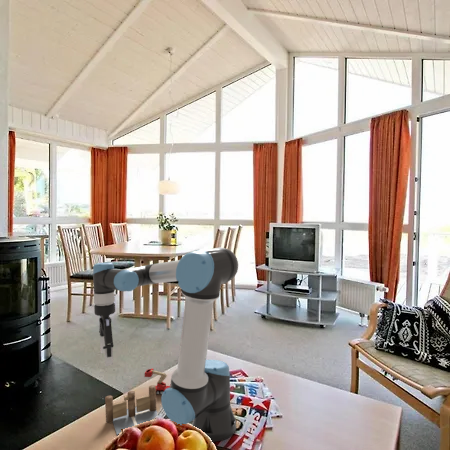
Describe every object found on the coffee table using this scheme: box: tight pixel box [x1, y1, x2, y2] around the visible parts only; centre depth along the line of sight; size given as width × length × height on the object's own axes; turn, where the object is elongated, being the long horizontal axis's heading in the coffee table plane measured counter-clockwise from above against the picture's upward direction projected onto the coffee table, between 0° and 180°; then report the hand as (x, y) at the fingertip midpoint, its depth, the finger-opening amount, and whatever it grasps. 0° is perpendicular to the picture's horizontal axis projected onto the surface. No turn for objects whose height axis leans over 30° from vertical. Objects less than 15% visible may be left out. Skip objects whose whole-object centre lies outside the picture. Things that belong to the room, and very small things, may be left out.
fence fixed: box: [127, 384, 157, 417], centre depth 133 cm, size 3×11×9 cm, turn 116°
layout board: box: [112, 406, 158, 436], centre depth 130 cm, size 15×16×1 cm
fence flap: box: [104, 390, 136, 424], centre depth 129 cm, size 3×11×9 cm, turn 116°
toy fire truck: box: [144, 368, 171, 395], centre depth 149 cm, size 3×14×10 cm, turn 84°
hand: (106, 358), depth 134 cm, fingers open, 13 cm apart
